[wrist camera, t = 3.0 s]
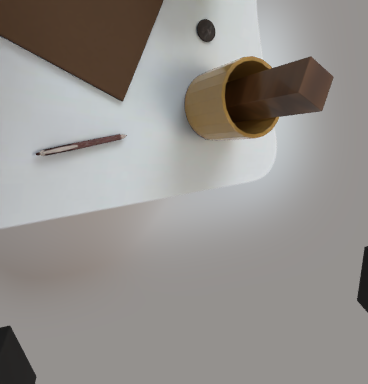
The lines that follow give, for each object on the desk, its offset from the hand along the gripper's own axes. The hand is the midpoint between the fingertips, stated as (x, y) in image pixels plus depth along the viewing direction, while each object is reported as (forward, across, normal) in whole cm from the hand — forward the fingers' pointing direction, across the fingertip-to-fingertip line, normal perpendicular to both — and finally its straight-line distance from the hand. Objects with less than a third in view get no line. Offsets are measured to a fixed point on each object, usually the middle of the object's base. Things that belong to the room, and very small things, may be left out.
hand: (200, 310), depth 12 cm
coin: (+43, +11, +8) cm, 45 cm away
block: (+40, +11, -2) cm, 41 cm away
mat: (+37, -6, +14) cm, 40 cm away
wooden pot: (+40, +10, -2) cm, 41 cm away
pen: (+32, -8, -2) cm, 33 cm away
